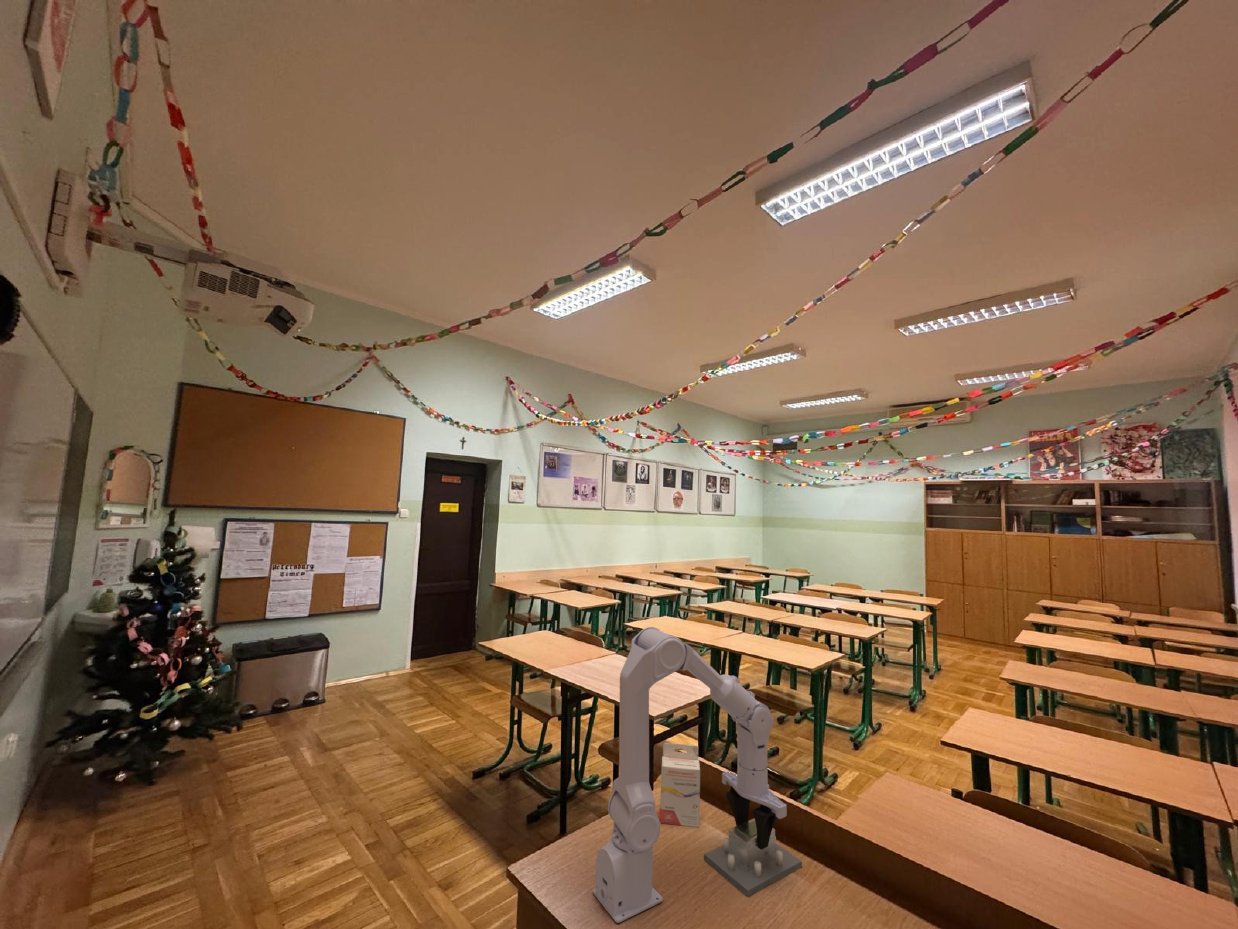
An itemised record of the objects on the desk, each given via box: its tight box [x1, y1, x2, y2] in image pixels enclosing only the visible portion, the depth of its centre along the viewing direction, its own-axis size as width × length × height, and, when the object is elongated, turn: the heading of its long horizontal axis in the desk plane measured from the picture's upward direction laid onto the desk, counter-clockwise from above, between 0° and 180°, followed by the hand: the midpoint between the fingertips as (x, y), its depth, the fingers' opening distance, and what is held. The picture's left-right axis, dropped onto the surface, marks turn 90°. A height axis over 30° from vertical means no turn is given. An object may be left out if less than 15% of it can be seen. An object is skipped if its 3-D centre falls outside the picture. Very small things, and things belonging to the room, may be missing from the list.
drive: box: [728, 817, 776, 872], centre depth 92 cm, size 8×4×5 cm, turn 123°
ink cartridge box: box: [659, 742, 701, 828], centre depth 106 cm, size 9×5×15 cm, turn 84°
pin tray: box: [703, 835, 803, 898], centre depth 92 cm, size 15×11×3 cm
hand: (752, 839), depth 92 cm, fingers closed on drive, 4 cm apart
